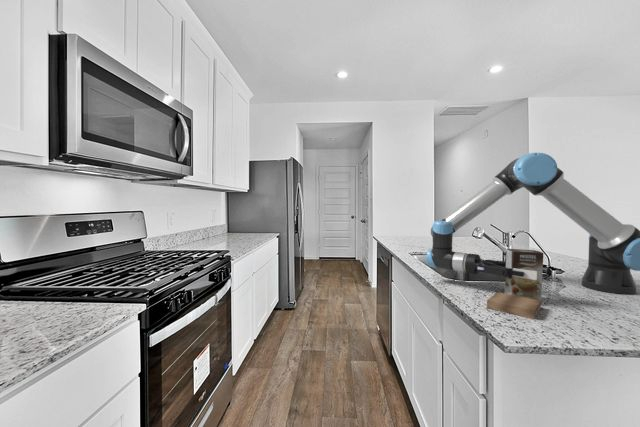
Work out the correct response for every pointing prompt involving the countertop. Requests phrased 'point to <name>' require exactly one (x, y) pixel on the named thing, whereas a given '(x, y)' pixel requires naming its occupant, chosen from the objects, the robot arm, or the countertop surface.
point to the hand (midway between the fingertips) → (539, 273)
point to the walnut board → (514, 305)
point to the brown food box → (527, 262)
